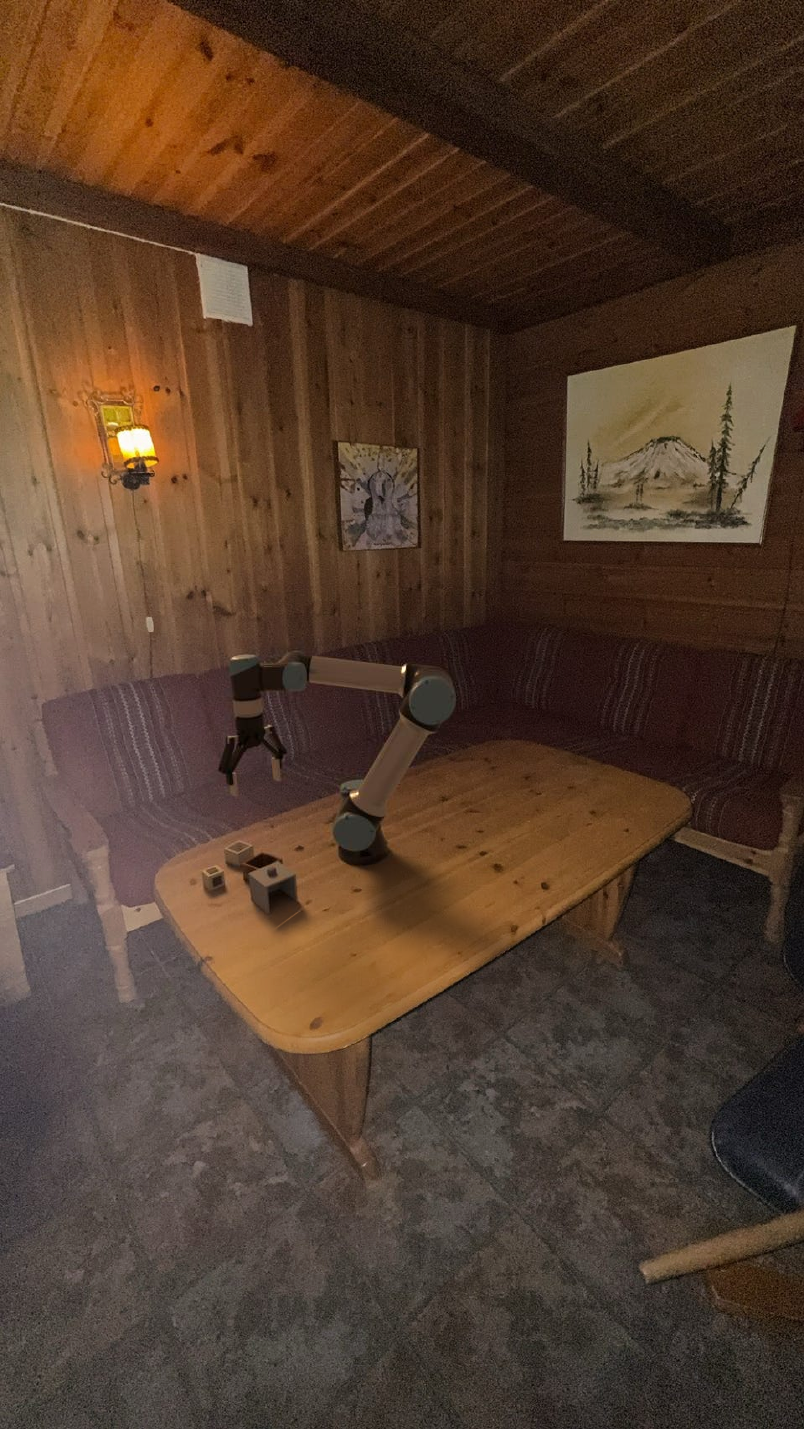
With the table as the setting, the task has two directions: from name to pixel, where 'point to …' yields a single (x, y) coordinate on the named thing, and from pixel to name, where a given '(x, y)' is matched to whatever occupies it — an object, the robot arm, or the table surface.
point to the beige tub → (238, 853)
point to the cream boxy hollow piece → (213, 877)
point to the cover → (271, 883)
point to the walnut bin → (258, 863)
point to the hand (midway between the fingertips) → (256, 787)
